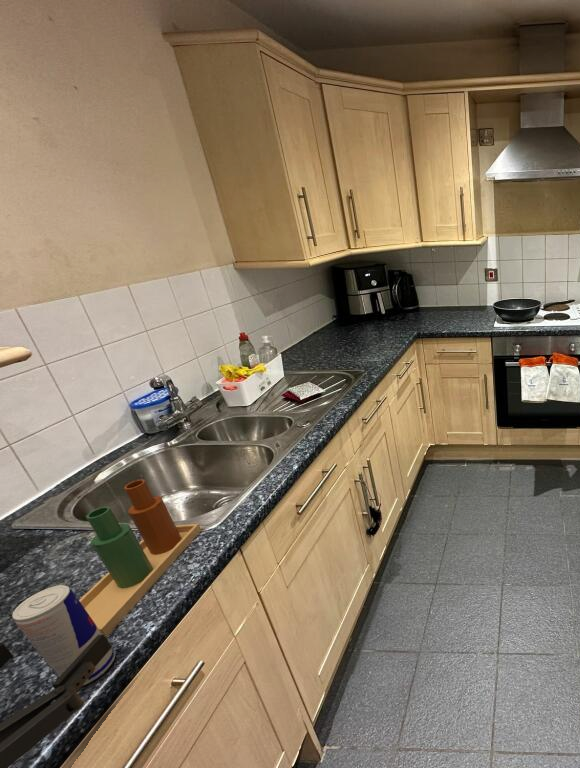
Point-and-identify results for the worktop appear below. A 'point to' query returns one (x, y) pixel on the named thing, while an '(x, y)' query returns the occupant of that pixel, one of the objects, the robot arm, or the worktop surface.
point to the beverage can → (59, 628)
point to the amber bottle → (152, 518)
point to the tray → (115, 603)
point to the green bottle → (118, 549)
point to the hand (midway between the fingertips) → (55, 645)
